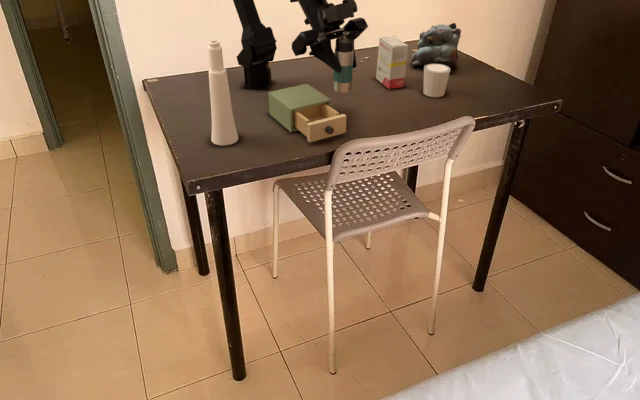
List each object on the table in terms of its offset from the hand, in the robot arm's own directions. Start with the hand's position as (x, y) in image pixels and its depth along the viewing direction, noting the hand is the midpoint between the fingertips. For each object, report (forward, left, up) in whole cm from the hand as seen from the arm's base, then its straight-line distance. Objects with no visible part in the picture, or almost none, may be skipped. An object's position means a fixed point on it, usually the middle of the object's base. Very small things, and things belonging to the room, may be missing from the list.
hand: (347, 69), depth 113 cm
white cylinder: (+21, +23, -14) cm, 34 cm away
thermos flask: (-1, +1, -5) cm, 5 cm away
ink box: (+9, +28, -14) cm, 32 cm away
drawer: (-6, -5, -13) cm, 15 cm away
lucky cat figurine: (+21, +44, -14) cm, 51 cm away
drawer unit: (-11, +1, -13) cm, 18 cm away
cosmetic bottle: (-26, -12, -14) cm, 32 cm away
